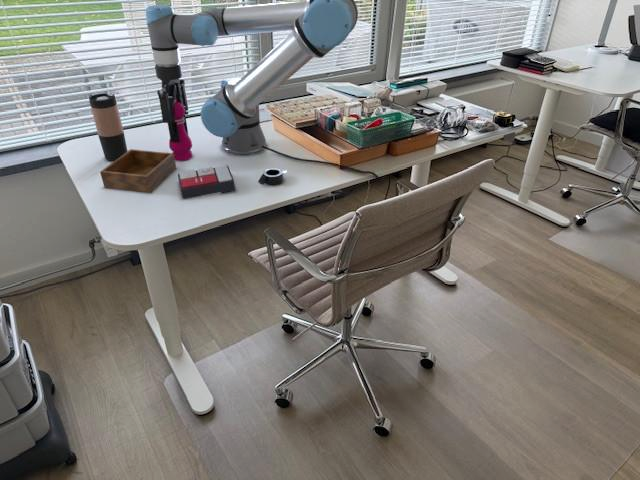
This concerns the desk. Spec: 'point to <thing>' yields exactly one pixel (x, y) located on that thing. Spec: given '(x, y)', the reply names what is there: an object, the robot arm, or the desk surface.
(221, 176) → the black red grey box
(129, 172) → the wooden box
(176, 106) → the pepper mill
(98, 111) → the travel mug
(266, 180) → the duct tape
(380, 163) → the desk surface
